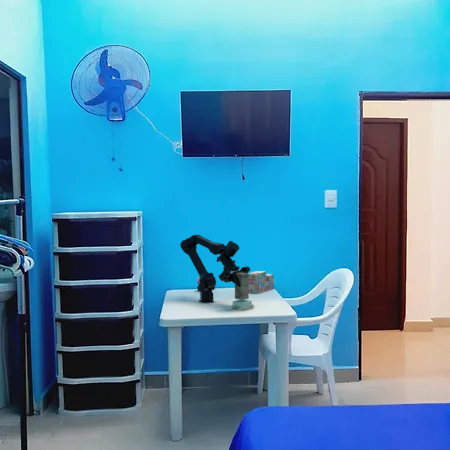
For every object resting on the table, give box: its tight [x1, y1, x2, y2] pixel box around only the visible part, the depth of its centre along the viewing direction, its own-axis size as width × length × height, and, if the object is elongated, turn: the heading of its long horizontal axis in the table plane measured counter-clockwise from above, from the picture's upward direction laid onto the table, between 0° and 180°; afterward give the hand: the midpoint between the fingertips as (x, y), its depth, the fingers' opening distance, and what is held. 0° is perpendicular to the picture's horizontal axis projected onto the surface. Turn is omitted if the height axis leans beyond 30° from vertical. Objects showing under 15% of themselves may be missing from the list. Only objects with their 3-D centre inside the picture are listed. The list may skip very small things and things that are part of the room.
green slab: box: [232, 299, 253, 307], centre depth 238 cm, size 7×7×2 cm
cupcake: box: [196, 276, 200, 287], centre depth 288 cm, size 9×9×10 cm
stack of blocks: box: [248, 270, 275, 295], centre depth 284 cm, size 21×6×12 cm, turn 144°
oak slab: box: [231, 304, 255, 312], centre depth 238 cm, size 8×8×2 cm
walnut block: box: [234, 272, 250, 300], centre depth 237 cm, size 5×5×13 cm
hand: (243, 285), depth 236 cm, fingers closed on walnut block, 5 cm apart
